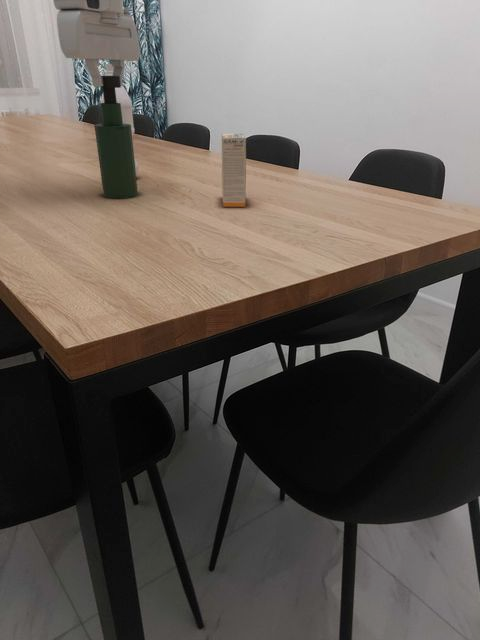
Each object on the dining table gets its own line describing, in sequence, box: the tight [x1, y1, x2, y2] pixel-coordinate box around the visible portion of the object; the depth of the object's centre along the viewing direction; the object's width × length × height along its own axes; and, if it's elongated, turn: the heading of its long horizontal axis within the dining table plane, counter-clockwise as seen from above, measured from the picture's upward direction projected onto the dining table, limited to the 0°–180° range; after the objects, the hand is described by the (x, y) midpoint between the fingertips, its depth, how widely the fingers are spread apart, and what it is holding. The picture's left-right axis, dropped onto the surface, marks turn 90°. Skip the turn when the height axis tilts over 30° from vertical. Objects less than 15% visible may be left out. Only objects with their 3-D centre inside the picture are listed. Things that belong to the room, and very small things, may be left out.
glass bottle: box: [94, 102, 139, 200], centre depth 105 cm, size 7×7×18 cm
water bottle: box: [100, 63, 139, 178], centre depth 120 cm, size 7×7×25 cm
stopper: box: [99, 75, 121, 104], centre depth 100 cm, size 5×5×6 cm
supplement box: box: [221, 133, 247, 208], centre depth 102 cm, size 8×5×13 cm, turn 5°
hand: (108, 86), depth 99 cm, fingers closed on stopper, 4 cm apart
